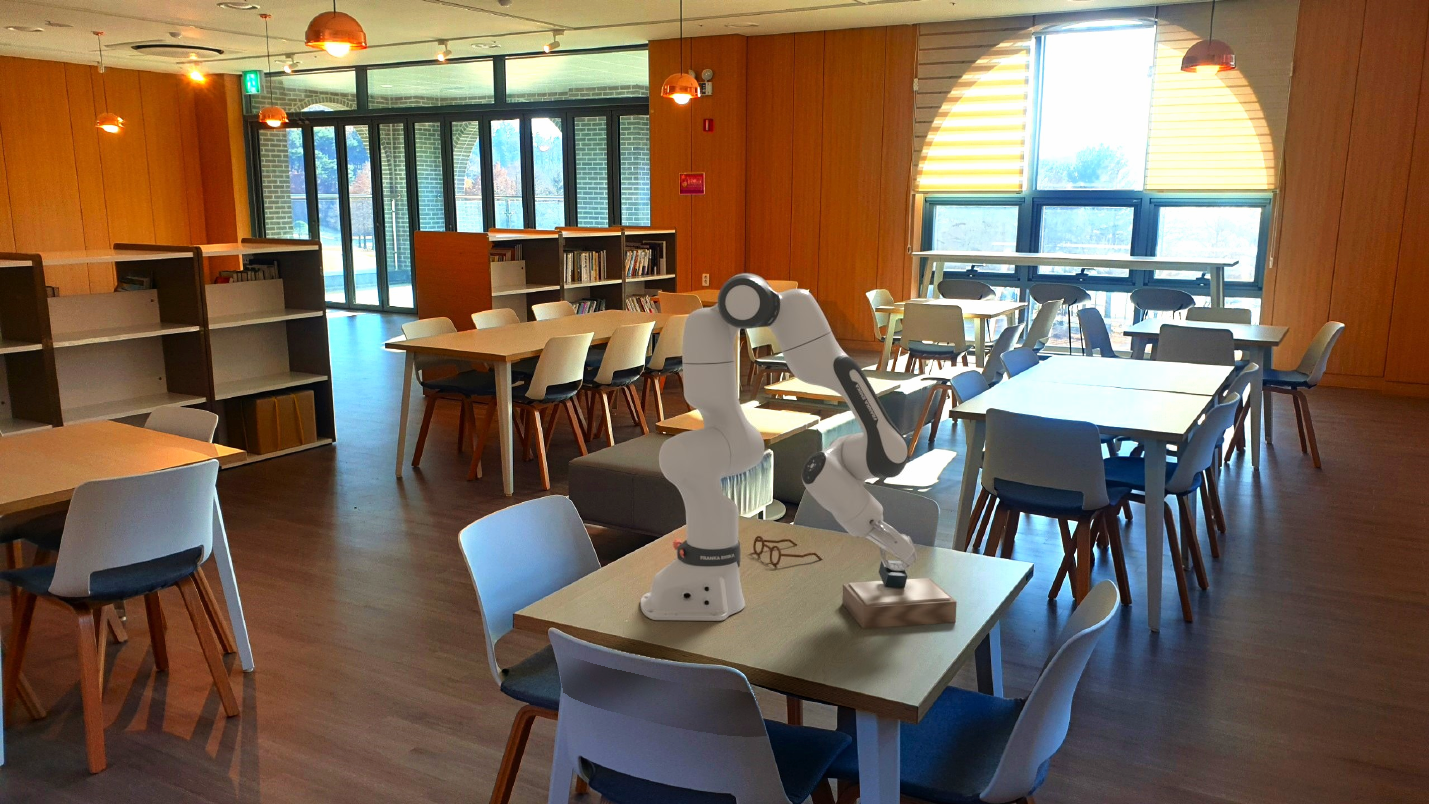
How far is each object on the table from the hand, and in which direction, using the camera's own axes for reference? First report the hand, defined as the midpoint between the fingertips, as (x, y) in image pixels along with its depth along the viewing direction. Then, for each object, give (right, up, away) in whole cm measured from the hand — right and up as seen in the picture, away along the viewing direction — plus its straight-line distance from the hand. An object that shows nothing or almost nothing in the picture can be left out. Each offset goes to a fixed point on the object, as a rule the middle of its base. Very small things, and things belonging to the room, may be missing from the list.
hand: (902, 556), depth 213 cm
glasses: (-21, -6, +39) cm, 45 cm away
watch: (-2, -6, +4) cm, 7 cm away
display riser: (-1, -12, +2) cm, 12 cm away
